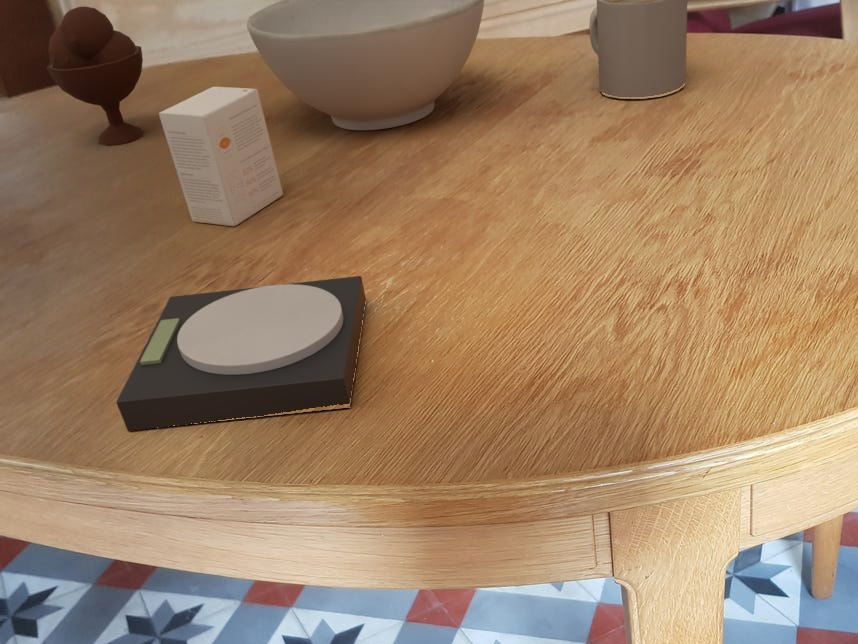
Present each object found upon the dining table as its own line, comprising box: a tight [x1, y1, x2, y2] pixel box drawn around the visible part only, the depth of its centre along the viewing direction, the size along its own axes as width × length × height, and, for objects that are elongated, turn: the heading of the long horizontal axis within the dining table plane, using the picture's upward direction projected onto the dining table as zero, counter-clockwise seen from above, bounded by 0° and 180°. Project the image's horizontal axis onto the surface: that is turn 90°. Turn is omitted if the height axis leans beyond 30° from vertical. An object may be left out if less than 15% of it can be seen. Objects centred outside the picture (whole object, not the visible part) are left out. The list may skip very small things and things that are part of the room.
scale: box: [115, 275, 367, 432], centre depth 67 cm, size 15×15×3 cm
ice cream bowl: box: [46, 5, 145, 146], centre depth 113 cm, size 11×11×15 cm
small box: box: [158, 86, 284, 227], centre depth 90 cm, size 8×6×10 cm
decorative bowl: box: [246, 0, 485, 131], centre depth 110 cm, size 27×27×12 cm
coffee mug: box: [588, 0, 688, 98], centre depth 109 cm, size 13×10×10 cm
